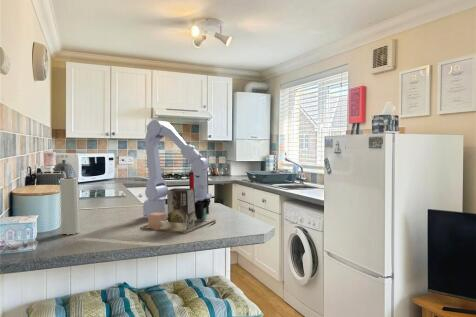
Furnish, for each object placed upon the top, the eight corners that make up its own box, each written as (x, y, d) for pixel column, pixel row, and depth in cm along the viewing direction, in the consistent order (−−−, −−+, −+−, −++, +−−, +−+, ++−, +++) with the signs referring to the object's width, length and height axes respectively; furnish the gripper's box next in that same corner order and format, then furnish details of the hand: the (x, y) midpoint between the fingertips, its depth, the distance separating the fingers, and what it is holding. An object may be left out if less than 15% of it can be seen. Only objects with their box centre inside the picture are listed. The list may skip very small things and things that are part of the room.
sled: (159, 231, 131) (159, 216, 130) (191, 220, 150) (190, 206, 150) (185, 235, 126) (184, 218, 125) (214, 222, 145) (213, 208, 144)
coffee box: (196, 229, 135) (195, 188, 135) (188, 233, 129) (187, 190, 129) (175, 227, 138) (174, 187, 138) (167, 231, 132) (166, 189, 132)
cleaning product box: (208, 213, 165) (208, 172, 164) (190, 214, 164) (189, 172, 163) (208, 207, 181) (207, 169, 180) (191, 208, 180) (190, 170, 179)
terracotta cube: (148, 227, 135) (148, 214, 135) (154, 224, 140) (154, 212, 139) (159, 228, 133) (159, 215, 133) (166, 225, 138) (165, 212, 138)
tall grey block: (68, 236, 127) (65, 178, 126) (58, 234, 130) (56, 178, 129) (85, 232, 133) (83, 177, 132) (76, 230, 136) (74, 176, 135)
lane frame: (140, 231, 133) (139, 215, 133) (174, 219, 154) (174, 205, 153) (185, 236, 124) (185, 220, 124) (216, 223, 144) (215, 209, 144)
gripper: (199, 188, 138) (200, 222, 138) (217, 184, 151) (217, 215, 151) (184, 187, 141) (185, 220, 141) (203, 183, 154) (204, 213, 154)
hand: (201, 217), depth 146 cm, fingers open, 3 cm apart
